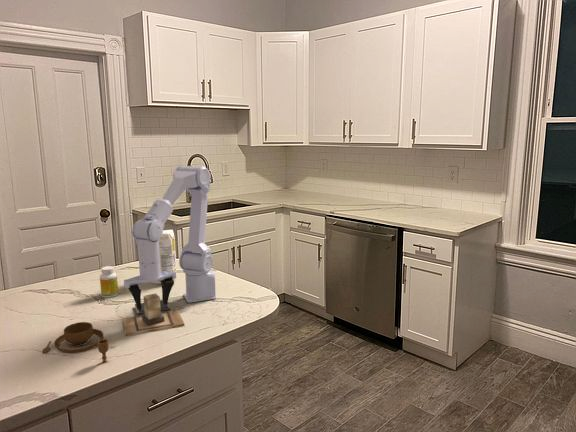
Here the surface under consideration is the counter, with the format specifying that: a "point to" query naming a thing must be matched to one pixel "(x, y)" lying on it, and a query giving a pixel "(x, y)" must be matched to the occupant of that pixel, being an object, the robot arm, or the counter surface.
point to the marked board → (138, 326)
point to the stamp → (152, 310)
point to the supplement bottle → (108, 282)
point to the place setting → (81, 339)
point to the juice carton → (167, 252)
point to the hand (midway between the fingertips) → (152, 306)
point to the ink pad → (163, 306)
